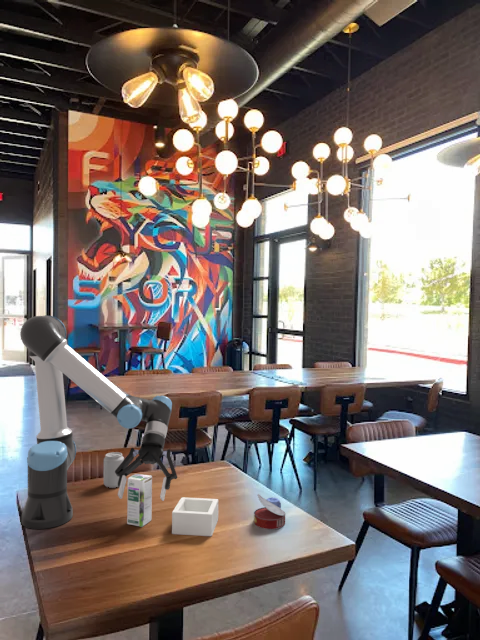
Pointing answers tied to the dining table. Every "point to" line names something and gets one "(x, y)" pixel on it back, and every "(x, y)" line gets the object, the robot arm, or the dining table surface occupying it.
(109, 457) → the can
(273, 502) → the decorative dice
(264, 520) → the canned food
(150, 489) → the syrup box
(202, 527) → the socket
